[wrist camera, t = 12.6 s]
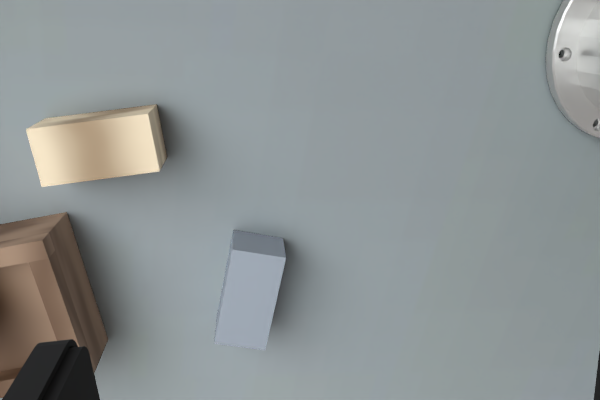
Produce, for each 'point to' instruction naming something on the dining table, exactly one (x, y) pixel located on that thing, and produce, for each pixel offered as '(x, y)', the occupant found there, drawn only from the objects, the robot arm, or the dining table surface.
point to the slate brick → (250, 290)
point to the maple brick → (97, 145)
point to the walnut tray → (43, 293)
